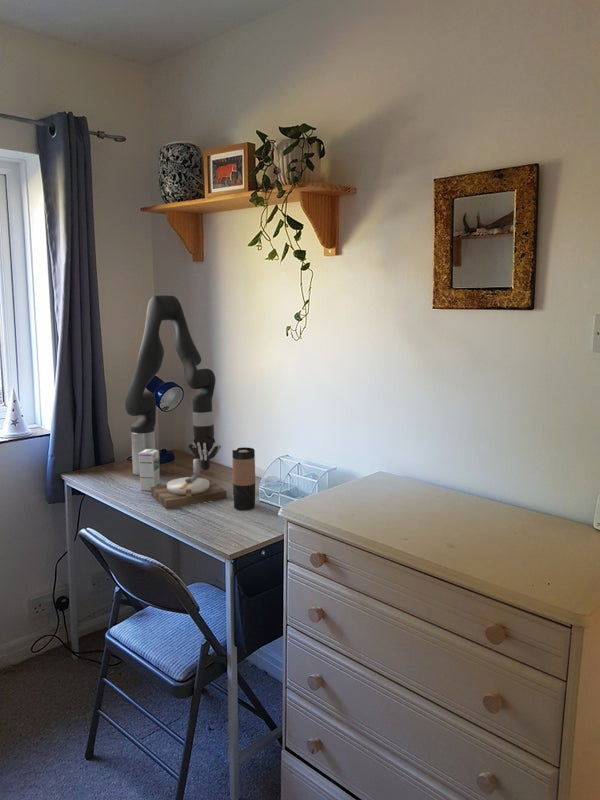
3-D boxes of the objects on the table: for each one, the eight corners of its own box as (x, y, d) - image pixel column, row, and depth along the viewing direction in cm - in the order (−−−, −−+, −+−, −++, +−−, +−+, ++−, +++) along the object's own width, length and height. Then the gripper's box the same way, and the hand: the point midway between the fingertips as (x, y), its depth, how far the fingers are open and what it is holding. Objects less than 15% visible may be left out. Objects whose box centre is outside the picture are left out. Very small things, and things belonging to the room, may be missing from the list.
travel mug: (256, 510, 215) (256, 452, 212) (233, 511, 214) (232, 453, 211) (254, 502, 222) (253, 446, 219) (232, 504, 221) (231, 447, 218)
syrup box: (154, 491, 236) (153, 453, 234) (139, 490, 238) (138, 452, 235) (161, 486, 242) (159, 449, 240) (146, 485, 243) (144, 448, 241)
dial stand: (151, 494, 232) (150, 480, 231) (208, 486, 242) (208, 472, 241) (166, 509, 216) (165, 493, 215) (226, 499, 227) (226, 484, 226)
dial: (178, 478, 241) (178, 458, 240) (217, 480, 239) (216, 459, 237) (160, 493, 223) (159, 471, 221) (202, 495, 220) (201, 473, 219)
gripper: (224, 422, 235) (226, 468, 237) (193, 421, 240) (195, 466, 242) (213, 426, 228) (216, 473, 230) (182, 424, 233) (185, 470, 236)
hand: (205, 469), depth 236 cm, fingers closed
